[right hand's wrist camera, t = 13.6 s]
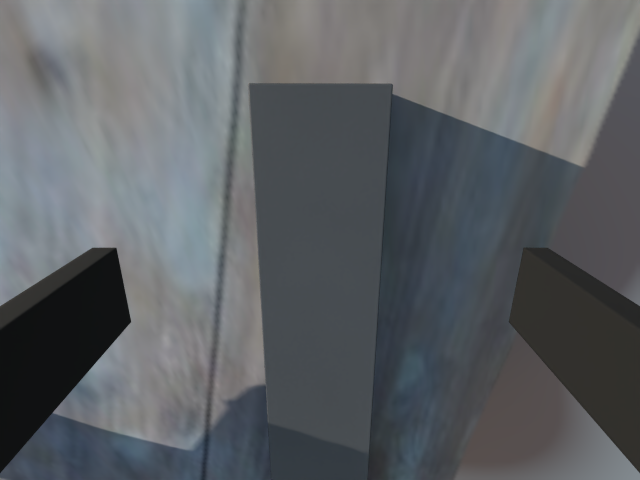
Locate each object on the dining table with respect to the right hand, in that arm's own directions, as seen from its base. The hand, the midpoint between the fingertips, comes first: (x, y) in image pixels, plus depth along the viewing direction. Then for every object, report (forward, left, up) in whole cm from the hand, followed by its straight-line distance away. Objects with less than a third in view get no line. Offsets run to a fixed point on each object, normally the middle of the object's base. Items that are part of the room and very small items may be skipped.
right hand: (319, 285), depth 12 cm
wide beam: (+8, +24, -24) cm, 35 cm away
